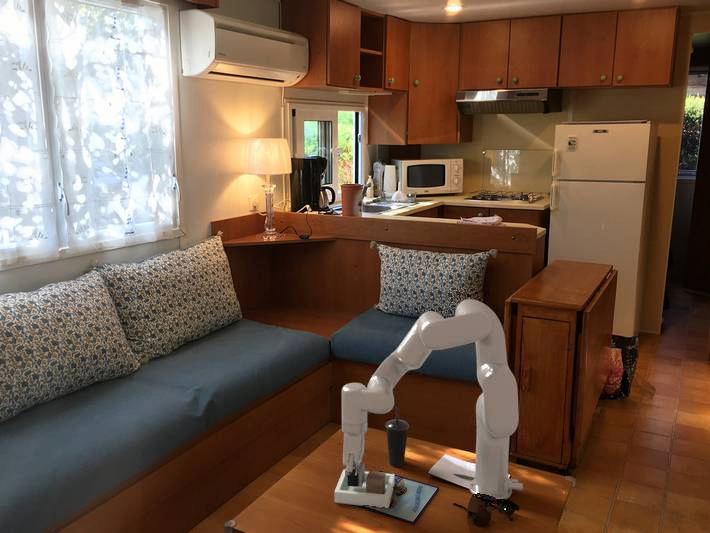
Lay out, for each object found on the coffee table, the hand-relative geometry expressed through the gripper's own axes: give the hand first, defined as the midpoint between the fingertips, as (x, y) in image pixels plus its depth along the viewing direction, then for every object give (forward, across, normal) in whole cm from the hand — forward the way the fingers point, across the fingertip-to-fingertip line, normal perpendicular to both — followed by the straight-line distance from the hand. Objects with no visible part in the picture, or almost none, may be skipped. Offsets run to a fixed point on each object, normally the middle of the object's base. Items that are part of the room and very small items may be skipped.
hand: (354, 480), depth 199 cm
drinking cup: (+4, -20, +10) cm, 22 cm away
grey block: (0, 0, 0) cm, 0 cm away
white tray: (+4, 0, +3) cm, 5 cm away
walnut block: (+3, 0, +6) cm, 7 cm away
